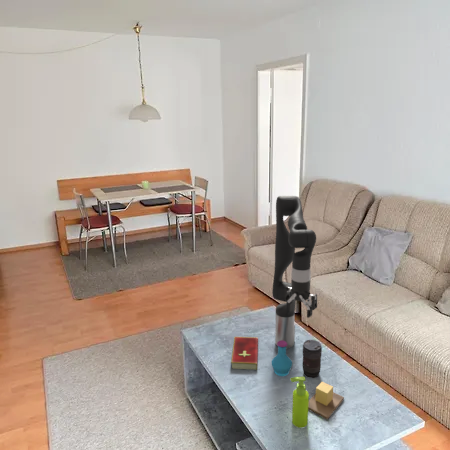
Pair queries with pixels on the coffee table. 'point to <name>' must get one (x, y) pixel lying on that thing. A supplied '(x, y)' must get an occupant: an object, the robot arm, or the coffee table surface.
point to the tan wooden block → (324, 393)
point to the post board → (323, 409)
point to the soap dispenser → (300, 403)
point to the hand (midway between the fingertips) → (299, 313)
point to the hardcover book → (245, 353)
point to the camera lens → (311, 358)
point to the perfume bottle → (281, 360)
